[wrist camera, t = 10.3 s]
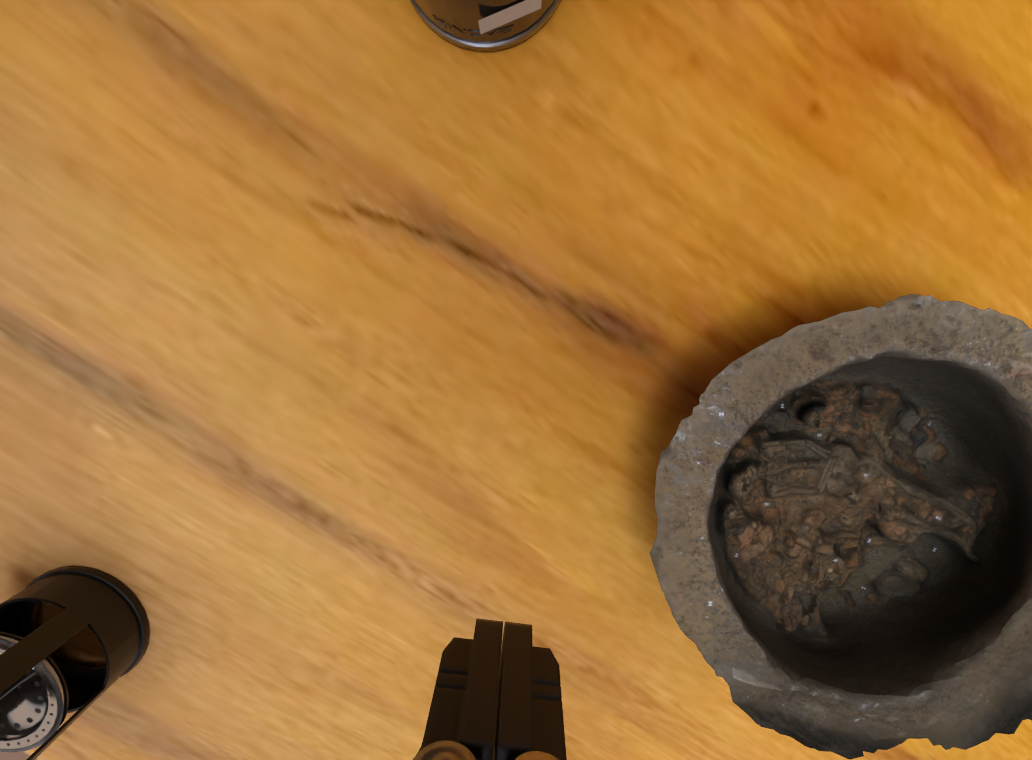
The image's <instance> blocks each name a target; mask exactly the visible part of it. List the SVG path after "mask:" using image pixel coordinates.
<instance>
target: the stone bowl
mask: <svg viewBox="0 0 1032 760" xmlns="http://www.w3.org/2000/svg"><path fill="white" fill-rule="evenodd" d="M699 401H700V404H699V405H697V406H695V407H693V411H692V414H691V416H689V417H687V418H685V419H683V420H681V422H680V425H679V427H678V429H677V432H676V434H675V436H674V437H673V438H672V440H671V442H670V444H669V446H668V447H667V448H666V449H665V450H663V451H662V452H661V455H660V462H659V465H658V468H657V474H656V485H655V509H656V514H657V518H658V522H657V537H656V540H655V542H654V545H653V548H652V549H651V551H650V555H651V558H652V561H653V565H654V568H655V571H656V574H657V577H658V580H659V582H660V585H661V588H662V590H663V592H664V594H665V597H666V600H667V602H668V604H669V606H670V608H671V611H672V615H673V617H674V618H675V620H676V622H677V623H678V625H679V627H680V629H681V630H682V631H683V632H684V634H685V635H686V636H687V637H688V638H689V639H691V640H692V641H693V642H694V643H695V644H696V646H697V648H698V650H699V651H700V652H701V654H702V656H703V657H704V659H705V660H706V662H707V663H708V664H709V665H710V666H711V667H712V668H713V669H714V670H715V673H716V676H720V677H723V678H724V680H725V681H726V682H727V683H728V685H729V687H730V691H731V696H732V700H733V702H734V703H735V704H736V705H738V706H739V707H740V708H741V709H742V710H743V711H744V712H746V713H747V714H748V715H749V716H750V717H751V718H752V719H753V720H754V721H755V722H756V723H757V724H758V725H760V726H761V727H765V728H769V729H774V730H775V731H777V732H778V733H779V734H783V735H787V736H791V737H792V738H794V739H795V740H797V741H798V742H800V743H801V744H803V745H804V746H807V747H809V748H814V749H816V750H818V751H831V752H833V753H836V754H838V755H841V756H843V757H845V758H847V759H853V758H858V757H862V756H864V755H863V751H866V752H871V753H874V752H876V751H877V750H878V749H882V750H887V749H890V748H892V747H895V746H897V745H898V744H901V743H903V742H904V741H905V740H906V739H908V738H916V739H921V738H928V739H929V740H930V741H931V743H932V744H933V745H934V746H935V745H942V747H943V748H944V749H945V750H947V749H950V748H952V747H956V748H961V749H968V748H970V747H973V746H975V745H978V744H980V743H982V742H984V741H987V740H989V739H990V738H991V737H992V736H993V735H994V734H995V733H1003V734H1014V733H1015V731H1016V729H1017V728H1018V726H1019V725H1020V723H1021V722H1022V720H1025V719H1030V720H1032V329H1030V328H1028V326H1027V325H1026V324H1025V323H1024V322H1023V321H1021V320H1019V319H1017V318H1015V317H1012V316H1009V315H1005V314H1002V313H999V312H998V311H995V310H993V309H990V308H987V309H985V310H980V309H978V308H975V307H973V306H970V305H968V304H965V303H962V302H957V301H938V300H937V299H935V298H933V297H932V296H930V295H929V296H926V297H925V296H922V295H911V294H910V295H906V296H902V297H898V298H897V299H895V300H893V301H889V302H887V303H886V304H885V305H883V306H882V307H881V308H880V309H879V308H875V307H872V306H868V307H865V308H863V309H860V310H855V311H849V312H843V313H840V314H837V315H835V316H832V317H829V318H826V319H824V320H822V321H820V322H812V323H809V324H801V325H799V326H796V327H794V328H792V329H790V330H789V331H788V332H786V333H785V334H784V335H782V336H780V337H777V338H774V339H771V340H770V341H768V342H766V343H764V344H762V345H760V346H758V347H757V348H755V349H753V350H751V351H750V352H748V353H746V354H745V355H743V356H742V357H740V358H738V359H737V360H735V361H733V362H731V363H730V364H729V365H728V366H727V367H726V368H725V369H724V370H723V371H721V372H720V373H719V374H718V375H717V376H716V377H714V378H713V379H712V380H711V382H710V384H709V385H708V387H707V389H706V390H705V392H704V393H702V394H701V396H700V397H699Z"/></svg>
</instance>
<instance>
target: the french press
mask: <svg viewBox="0 0 1032 760" xmlns="http://www.w3.org/2000/svg"><path fill="white" fill-rule="evenodd" d="M40 601H43V602H47V603H51V604H55V605H57V606H59V607H62V608H64V610H62V611H61V612H60V613H58V614H57V615H55V616H54V617H53V618H51V619H50V620H48V621H47V622H46V623H44V624H43V625H41V626H40V627H39V628H37V622H36V611H37V608H38V605H39V603H40ZM87 625H88V626H89V628H90V629H91V630H92V631H93V632H94V633H95V635H96V636H97V638H98V640H99V642H100V643H101V645H102V648H103V651H104V653H105V656H106V665H103V666H97V667H87V666H80V665H76V664H73V663H71V662H68V661H66V660H64V659H63V658H61V657H59V656H58V655H57V654H55V653H54V651H55V650H56V649H58V648H59V647H60V646H62V645H63V644H64V643H65V642H67V641H68V640H69V639H70V638H72V637H73V636H74V635H76V634H77V633H78V632H79V631H81V630H82V629H83V628H84V627H86V626H87ZM148 639H149V627H148V621H147V618H146V615H145V612H144V610H143V608H142V606H141V604H140V603H139V601H138V600H137V598H136V597H135V596H134V595H133V593H132V592H131V591H130V590H129V589H128V588H127V587H125V586H124V585H123V584H122V583H121V582H119V581H118V580H116V579H115V578H113V577H111V576H110V575H108V574H105V573H103V572H101V571H98V570H95V569H91V568H87V567H77V566H70V567H61V568H57V569H54V570H51V571H48V572H46V573H44V574H43V575H41V576H39V577H38V578H36V579H34V580H33V581H32V582H31V583H30V584H29V585H28V586H27V587H26V588H25V589H24V590H23V591H21V592H19V593H18V594H16V595H14V596H13V597H11V598H10V599H8V600H6V601H5V602H3V603H2V604H0V751H1V752H20V751H26V750H30V749H33V748H36V747H38V746H40V745H41V746H40V747H39V748H38V749H37V750H36V751H35V752H34V753H33V754H32V755H31V756H30V757H29V758H28V759H27V760H35V759H36V758H37V757H38V756H39V755H40V754H41V753H42V752H43V751H44V750H45V749H46V748H47V747H48V746H49V745H50V744H51V743H52V742H53V741H54V740H55V739H56V738H57V737H58V736H59V735H60V734H61V733H62V732H63V731H64V730H66V729H67V728H68V727H69V726H70V725H71V724H72V723H73V722H74V721H75V720H76V719H77V718H78V717H79V716H80V715H81V714H82V713H83V712H84V711H85V710H86V709H87V708H88V707H89V706H90V705H91V704H92V703H93V702H94V701H95V700H96V699H97V698H98V697H99V696H100V695H101V694H102V693H103V692H105V691H106V690H107V689H108V688H109V687H110V686H111V685H112V684H113V683H114V682H115V681H116V680H117V679H118V678H119V677H121V676H123V675H124V674H126V673H128V672H129V671H130V670H131V669H132V668H133V667H135V666H136V665H137V664H138V662H139V661H140V659H141V658H142V656H143V655H144V653H145V650H146V648H147V645H148ZM77 710H78V711H77ZM73 711H77V712H76V713H75V714H74V715H73V716H72V717H71V718H70V719H69V720H67V721H66V722H65V723H64V724H63V725H62V726H61V727H60V728H59V726H60V725H61V724H62V722H63V721H64V719H65V716H66V714H67V713H70V712H73ZM58 728H59V729H58ZM57 729H58V730H57Z"/></svg>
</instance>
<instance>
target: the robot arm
mask: <svg viewBox="0 0 1032 760" xmlns="http://www.w3.org/2000/svg"><path fill="white" fill-rule="evenodd" d="M410 1H411V3H412V5H413V7H414V9H415V10H416V12H417V13H418V15H419V16H420V17H421V19H422V20H423V21H424V22H425V23H426V24H427V25H428V27H429V28H430V29H431V30H433V31H434V32H435V33H436V34H437V35H439V36H440V37H442V38H443V39H445V40H446V41H448V42H450V43H452V44H454V45H457V46H459V47H462V48H465V49H469V50H475V51H496V50H502V49H505V48H509V47H512V46H514V45H517V44H519V43H521V42H523V41H525V40H526V39H528V38H529V37H531V36H532V35H533V34H535V33H536V32H537V31H538V30H539V29H540V28H541V27H542V26H543V25H544V24H545V23H546V22H547V21H548V20H549V18H550V17H551V16H552V14H553V13H554V12H555V10H556V8H557V7H558V5H559V3H560V1H561V0H410ZM502 630H503V622H502V621H494V620H485V619H476V626H475V633H474V639H473V640H472V639H463V638H455V637H454V638H453V639H452V641H451V642H450V643H449V644H448V646H447V647H446V648H445V649H444V651H443V653H442V658H441V662H440V667H439V672H438V676H437V680H436V685H435V689H434V694H433V698H432V703H431V707H430V712H429V716H428V721H427V725H426V730H425V734H424V739H423V742H422V746H421V748H420V750H419V752H418V753H417V755H416V756H415V758H414V759H413V760H567V759H566V748H565V735H564V723H563V710H562V701H561V698H562V697H561V686H560V672H559V664H558V662H557V661H556V659H555V657H554V655H553V653H552V652H551V650H550V649H549V648H541V647H532V625H528V624H520V623H512V622H505V626H504V633H503V641H502ZM501 644H502V649H501Z"/></svg>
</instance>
